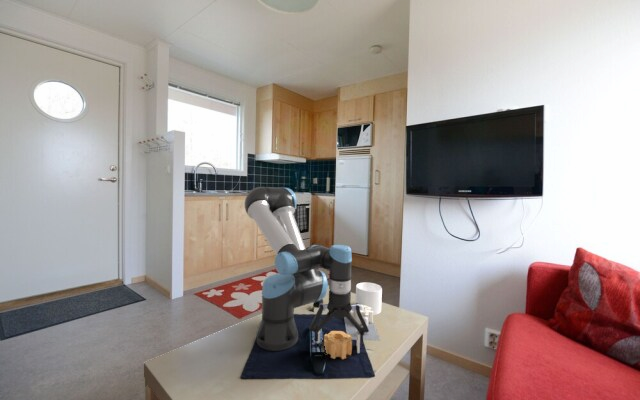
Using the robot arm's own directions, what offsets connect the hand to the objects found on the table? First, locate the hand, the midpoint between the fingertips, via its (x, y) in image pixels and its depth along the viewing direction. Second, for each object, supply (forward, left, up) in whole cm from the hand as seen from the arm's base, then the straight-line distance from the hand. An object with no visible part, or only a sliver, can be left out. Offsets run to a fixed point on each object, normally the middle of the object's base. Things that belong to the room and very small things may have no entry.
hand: (338, 350), depth 94 cm
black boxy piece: (-7, +33, -1) cm, 34 cm away
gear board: (+10, +14, 0) cm, 17 cm away
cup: (+16, +30, 0) cm, 34 cm away
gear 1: (0, 0, 0) cm, 0 cm away
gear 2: (+11, +20, +1) cm, 22 cm away
